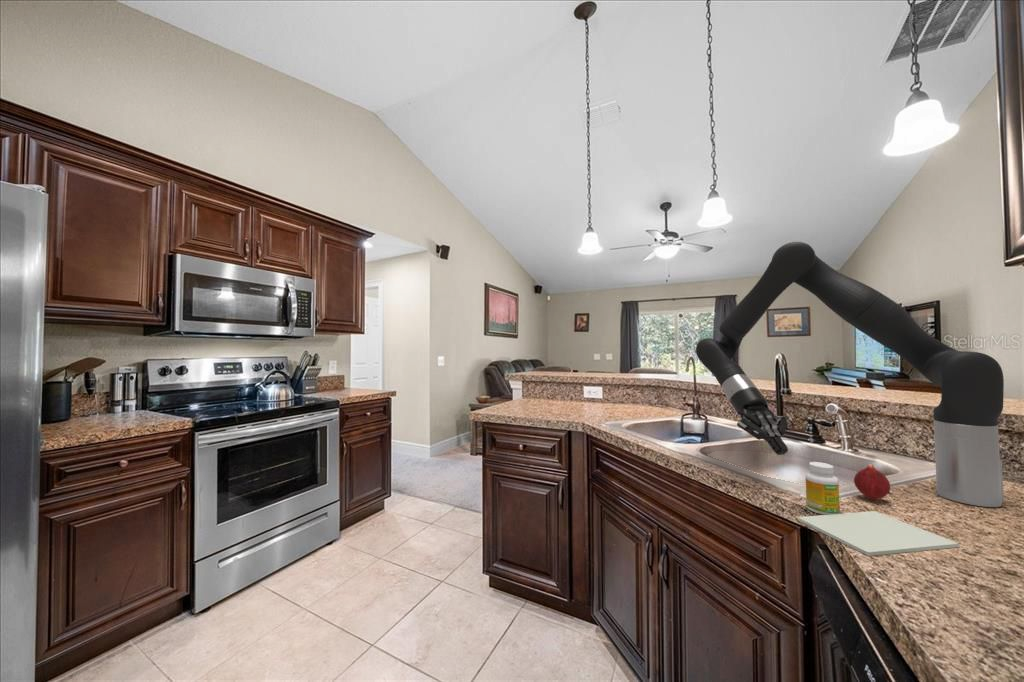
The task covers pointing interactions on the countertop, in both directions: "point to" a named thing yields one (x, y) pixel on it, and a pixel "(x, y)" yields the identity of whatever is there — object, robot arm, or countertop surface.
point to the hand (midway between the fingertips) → (783, 453)
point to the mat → (876, 533)
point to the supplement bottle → (822, 489)
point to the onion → (872, 483)
